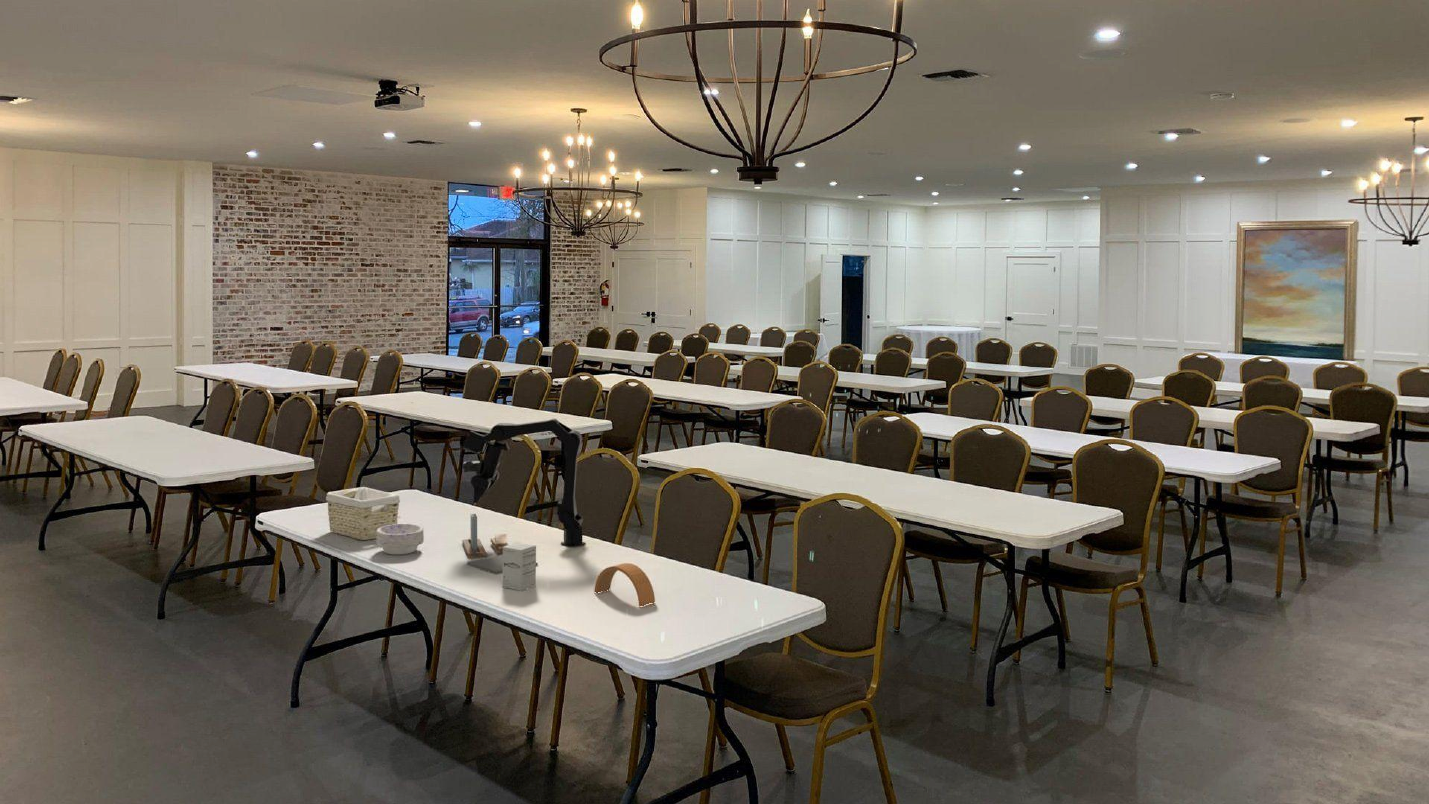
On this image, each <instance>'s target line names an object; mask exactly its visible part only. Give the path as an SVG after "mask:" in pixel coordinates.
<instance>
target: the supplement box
mask: <svg viewBox="0 0 1429 804" xmlns="http://www.w3.org/2000/svg"><path fill="white" fill-rule="evenodd" d="M502 555H503V573H502V587H501V588H505V589H510V588H511V590H516V591H520V592H523V591H525V589H526V590H528V589H531V588H533V587H535V586H536V583H537V582H536V581H537V579H536V577H537V566H536V562H537V545H536V544H530V543H529V544H528V543H522V542H513V543H511V544H508V545H507V546H504V547H503V554H502ZM534 585H535V586H534ZM532 586H533V587H532ZM527 588H528V589H527Z"/></svg>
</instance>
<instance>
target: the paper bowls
mask: <svg viewBox="0 0 1429 804" xmlns="http://www.w3.org/2000/svg"><path fill="white" fill-rule="evenodd" d="M424 534H425V533H424V527H423V526H421V525H417V524H414V523H412V524H411V523H397V524H393V525H387V526H383V527H380V528H378V529H377V531H376V536H377V538H376V545H377V546H378V547H380V548H382V550H383V552H384V553H386V554H388V555H396V556H399V555H401V556H403V555H409V554H411V553H413V552H415V551H417V549H418V547H419V546H420V545H422V544H423V543H424V541H425V539H424V537H425V536H424Z"/></svg>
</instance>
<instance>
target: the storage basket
mask: <svg viewBox="0 0 1429 804" xmlns="http://www.w3.org/2000/svg"><path fill="white" fill-rule="evenodd" d="M325 501H327V510H328V512H327V514H328V523H329V524H328V525H329V530H330V532H331V533H334V534H337V533H339V534H338V535H342V536H346V537H349V538H351V539H357V540H361V541H364V540H365V541H367V540H374V539H377V536H376V531H377V529H378V528H380V527H383V526H387V525H393V524H398V518H399V517H398V516H399V515H398V514H399V508H400V507H399V506H400V503H401V499H400V495H399V494H395V493H392V492H387V491H383V490H379V489H375V488H370V487H366V486H360V487H354V488H347V489H346V488H345V489H341V490H335V491H328V492H327V493H326V497H325Z"/></svg>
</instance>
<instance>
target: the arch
mask: <svg viewBox="0 0 1429 804" xmlns="http://www.w3.org/2000/svg"><path fill="white" fill-rule="evenodd" d="M617 572H620V573H623V574H624V575H625V576H626V577H627V578H628V579H629V580H630V582H631V583H632V585H633V587H634V589H635V591H636V595H637V599H638V607H639V606H644V605H646V604H649V603H654V602H655V603H656V596H655V591H654V589H653V586H652V583H651V581H650V579H649V577H648V575H647V573H646V572H644V571H643V569H642V568H640V567H639V566H638V565H635V564H634V563H630V562H625V563H621V564H620V563H619V564H616V565H612V566H608V567H606V568H604V569H603V570H601V572H600V573H599V574H598V576H597V579H596V581H595V585H594V590H593V591H594V592H596V593H598V592H601V591H606V592H608V591H607V590H609V589H610V590H611V587H612V581H613V578H614V577H615V574H616V573H617ZM596 593H595V594H596ZM598 594H599V593H598Z"/></svg>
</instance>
